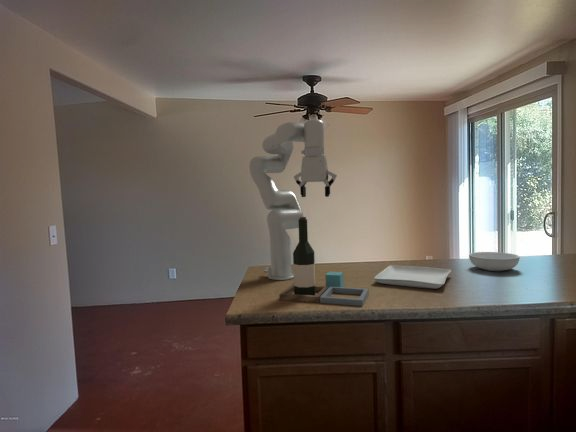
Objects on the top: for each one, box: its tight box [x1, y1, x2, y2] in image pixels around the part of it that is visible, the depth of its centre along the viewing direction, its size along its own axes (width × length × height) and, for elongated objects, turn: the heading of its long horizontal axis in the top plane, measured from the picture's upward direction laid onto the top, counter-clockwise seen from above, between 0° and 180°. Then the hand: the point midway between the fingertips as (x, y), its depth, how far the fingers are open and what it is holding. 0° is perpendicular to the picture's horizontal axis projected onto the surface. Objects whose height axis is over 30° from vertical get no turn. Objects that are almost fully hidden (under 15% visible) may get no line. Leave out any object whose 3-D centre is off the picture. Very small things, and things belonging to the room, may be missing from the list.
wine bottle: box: [292, 216, 316, 296], centre depth 141 cm, size 8×8×30 cm
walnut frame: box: [279, 283, 329, 304], centre depth 142 cm, size 15×15×2 cm
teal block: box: [325, 271, 345, 287], centre depth 151 cm, size 6×6×6 cm
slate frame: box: [319, 286, 370, 307], centre depth 136 cm, size 15×15×2 cm
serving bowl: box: [468, 251, 521, 272], centre depth 175 cm, size 21×21×7 cm
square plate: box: [373, 264, 452, 290], centre depth 159 cm, size 27×27×4 cm
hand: (315, 196), depth 145 cm, fingers open, 9 cm apart
